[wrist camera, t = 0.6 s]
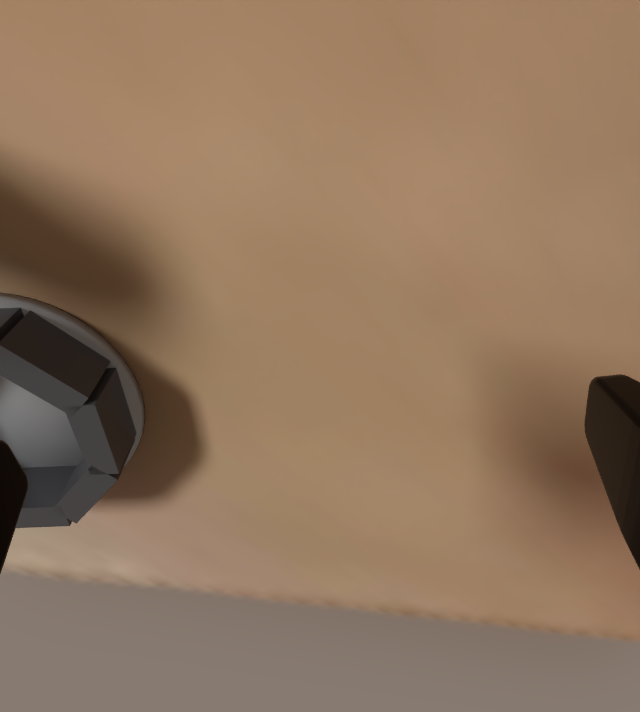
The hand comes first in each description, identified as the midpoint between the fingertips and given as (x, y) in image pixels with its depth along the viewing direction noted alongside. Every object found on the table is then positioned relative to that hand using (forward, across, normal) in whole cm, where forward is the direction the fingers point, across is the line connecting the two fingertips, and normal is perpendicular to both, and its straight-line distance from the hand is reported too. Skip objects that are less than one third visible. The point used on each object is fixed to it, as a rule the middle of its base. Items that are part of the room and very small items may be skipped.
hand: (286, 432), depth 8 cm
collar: (+12, +14, +7) cm, 20 cm away
